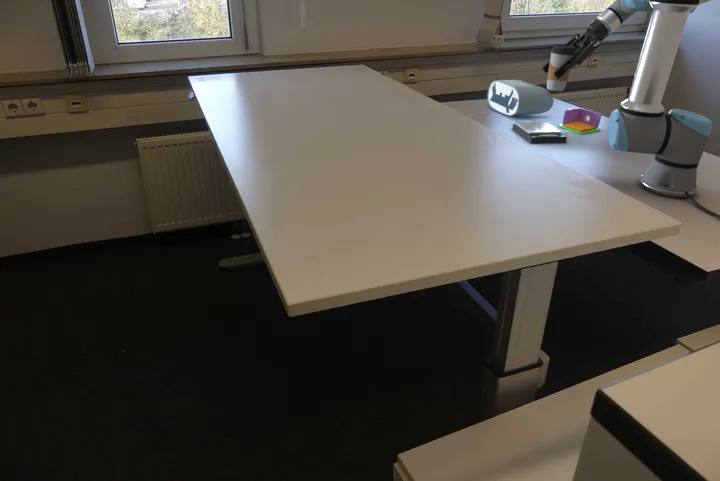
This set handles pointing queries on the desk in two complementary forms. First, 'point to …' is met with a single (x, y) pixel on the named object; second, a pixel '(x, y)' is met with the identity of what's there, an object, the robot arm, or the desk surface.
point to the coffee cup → (557, 60)
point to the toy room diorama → (581, 120)
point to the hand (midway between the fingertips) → (549, 73)
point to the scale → (539, 132)
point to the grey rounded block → (518, 98)
